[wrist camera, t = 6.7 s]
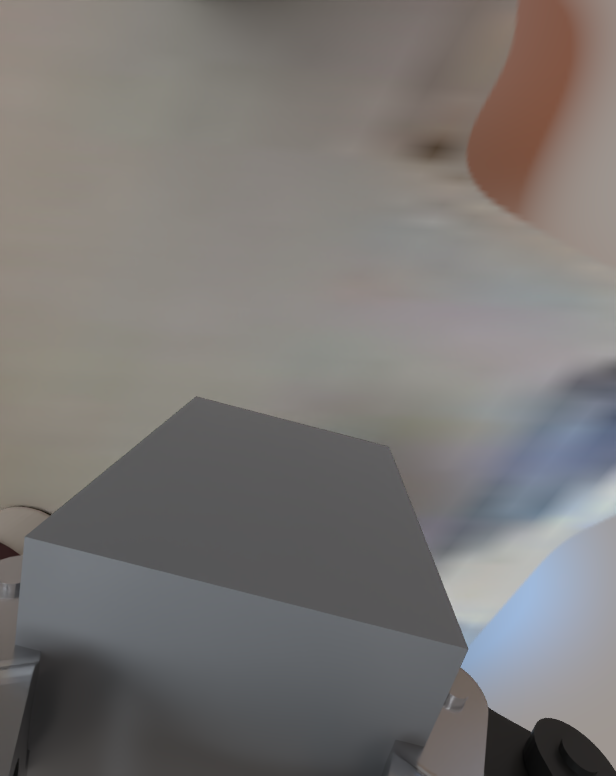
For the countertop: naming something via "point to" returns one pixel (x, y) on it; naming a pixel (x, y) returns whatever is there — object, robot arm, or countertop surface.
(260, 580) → the matte grey cube
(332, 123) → the countertop surface
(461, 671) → the robot arm
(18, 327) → the countertop surface
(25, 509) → the coffee cup
